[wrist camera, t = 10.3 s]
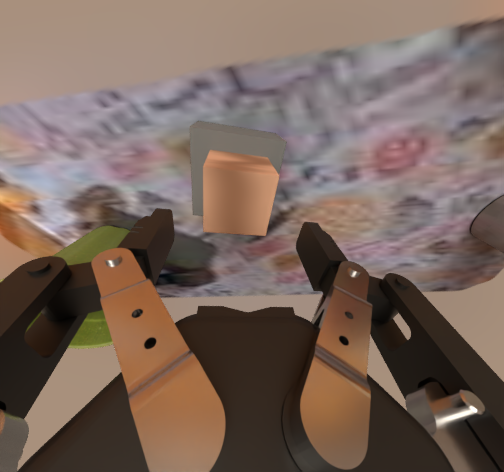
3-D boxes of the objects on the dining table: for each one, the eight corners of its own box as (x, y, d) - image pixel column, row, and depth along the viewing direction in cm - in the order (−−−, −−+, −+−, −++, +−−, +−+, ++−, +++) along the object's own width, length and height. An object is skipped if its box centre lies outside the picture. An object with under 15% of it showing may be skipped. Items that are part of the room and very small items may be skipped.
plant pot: (145, 283, 32) (111, 357, 23) (61, 252, 26) (-28, 332, 17) (179, 238, 27) (153, 309, 18) (84, 190, 22) (-20, 255, 13)
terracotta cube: (267, 157, 17) (279, 175, 13) (258, 207, 19) (265, 235, 15) (210, 149, 16) (203, 166, 12) (209, 203, 19) (203, 231, 15)
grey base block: (275, 133, 20) (286, 141, 16) (261, 201, 25) (268, 221, 21) (198, 120, 19) (189, 126, 15) (199, 195, 23) (192, 215, 19)
